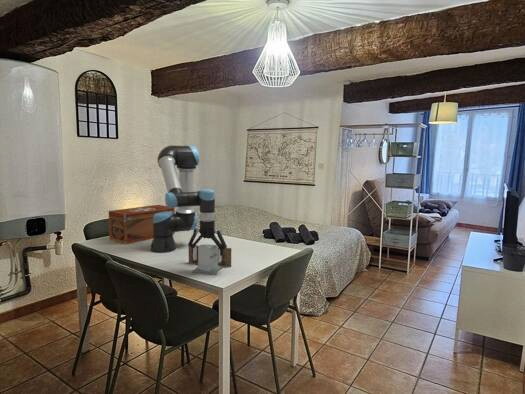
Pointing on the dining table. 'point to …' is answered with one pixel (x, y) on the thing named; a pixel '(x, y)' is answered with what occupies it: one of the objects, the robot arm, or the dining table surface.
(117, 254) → the dining table surface
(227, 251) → the walnut screen
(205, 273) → the mat
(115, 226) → the wooden box
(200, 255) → the supplement box
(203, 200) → the robot arm
